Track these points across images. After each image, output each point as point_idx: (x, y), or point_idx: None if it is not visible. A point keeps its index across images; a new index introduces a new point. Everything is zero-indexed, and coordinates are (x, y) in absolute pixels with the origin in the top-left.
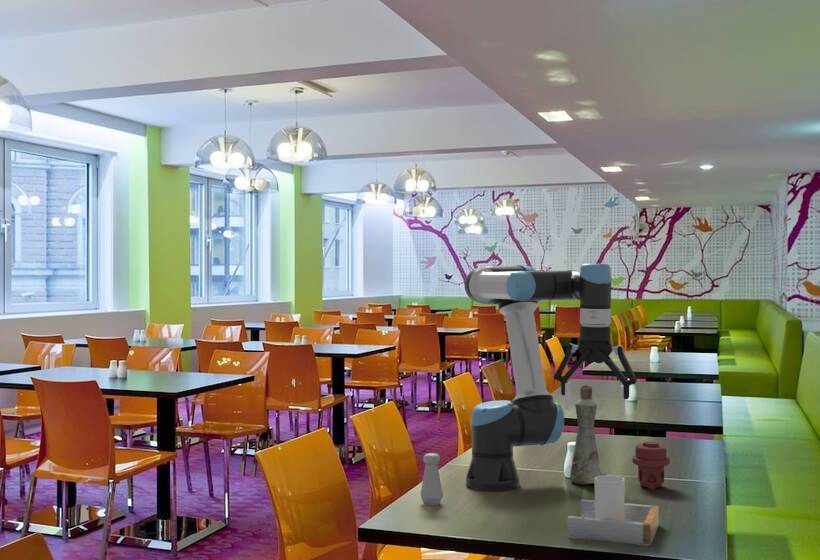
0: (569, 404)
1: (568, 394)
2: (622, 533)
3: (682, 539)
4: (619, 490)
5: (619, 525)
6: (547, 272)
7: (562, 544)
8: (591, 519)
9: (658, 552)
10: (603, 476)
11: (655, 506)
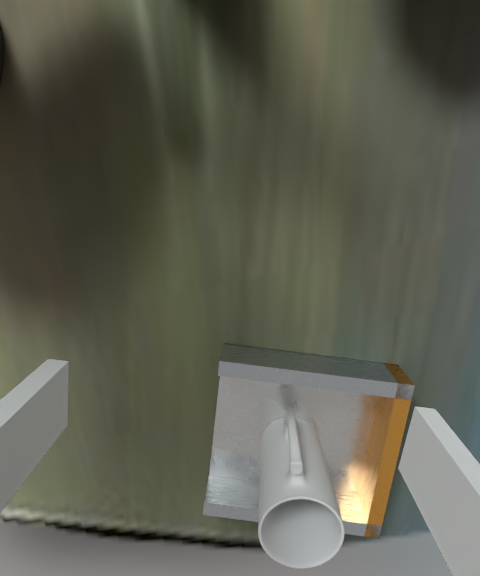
0: (56, 399)
1: (11, 485)
2: None
3: None
4: (324, 539)
5: None
6: None
7: (203, 522)
8: (254, 519)
9: None
10: (282, 501)
11: (406, 390)
